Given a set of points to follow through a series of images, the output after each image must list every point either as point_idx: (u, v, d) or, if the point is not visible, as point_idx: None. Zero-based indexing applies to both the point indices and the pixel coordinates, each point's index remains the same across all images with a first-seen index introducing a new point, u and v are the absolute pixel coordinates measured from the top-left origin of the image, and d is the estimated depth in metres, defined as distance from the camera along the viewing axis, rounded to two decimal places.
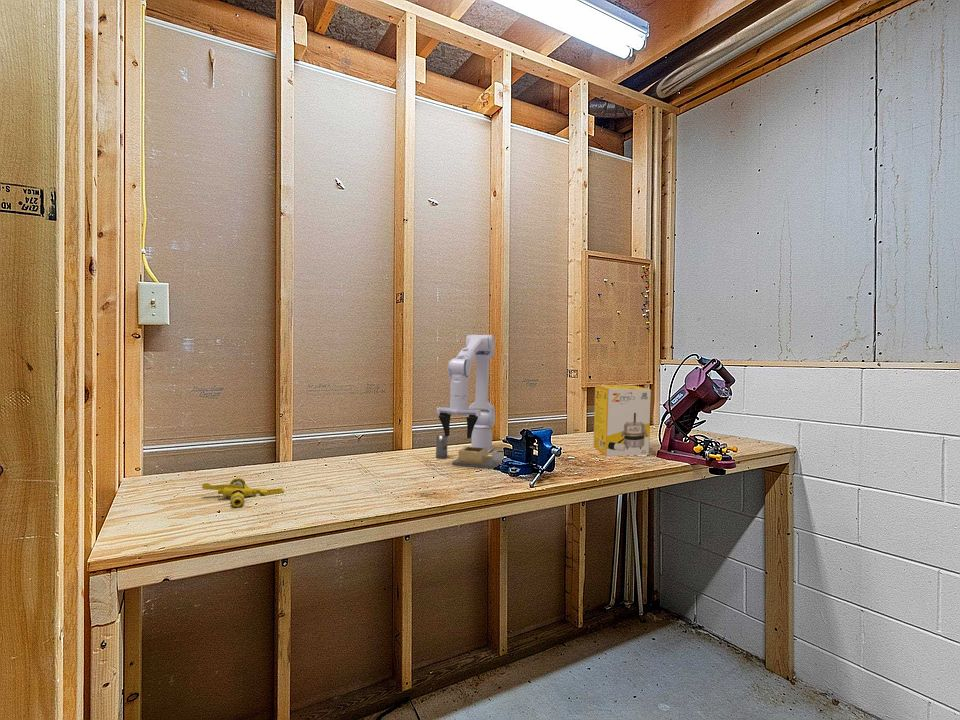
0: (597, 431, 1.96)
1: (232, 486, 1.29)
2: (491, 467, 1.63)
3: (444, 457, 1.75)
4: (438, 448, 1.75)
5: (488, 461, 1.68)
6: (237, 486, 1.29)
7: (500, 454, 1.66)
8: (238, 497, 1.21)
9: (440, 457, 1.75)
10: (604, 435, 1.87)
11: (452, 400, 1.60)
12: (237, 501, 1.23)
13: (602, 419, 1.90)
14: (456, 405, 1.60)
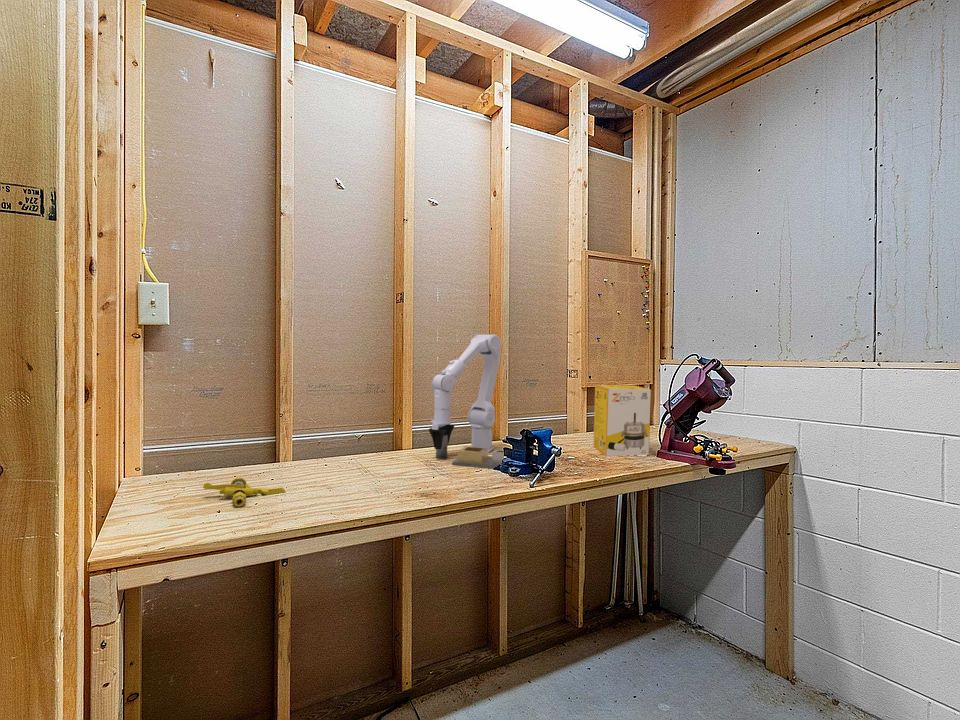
0: (597, 431, 1.96)
1: (233, 486, 1.29)
2: (491, 467, 1.63)
3: (444, 457, 1.75)
4: None
5: (488, 461, 1.68)
6: (238, 486, 1.29)
7: (500, 454, 1.66)
8: (240, 497, 1.21)
9: (440, 457, 1.75)
10: (604, 435, 1.87)
11: None
12: (239, 501, 1.23)
13: (602, 419, 1.90)
14: None
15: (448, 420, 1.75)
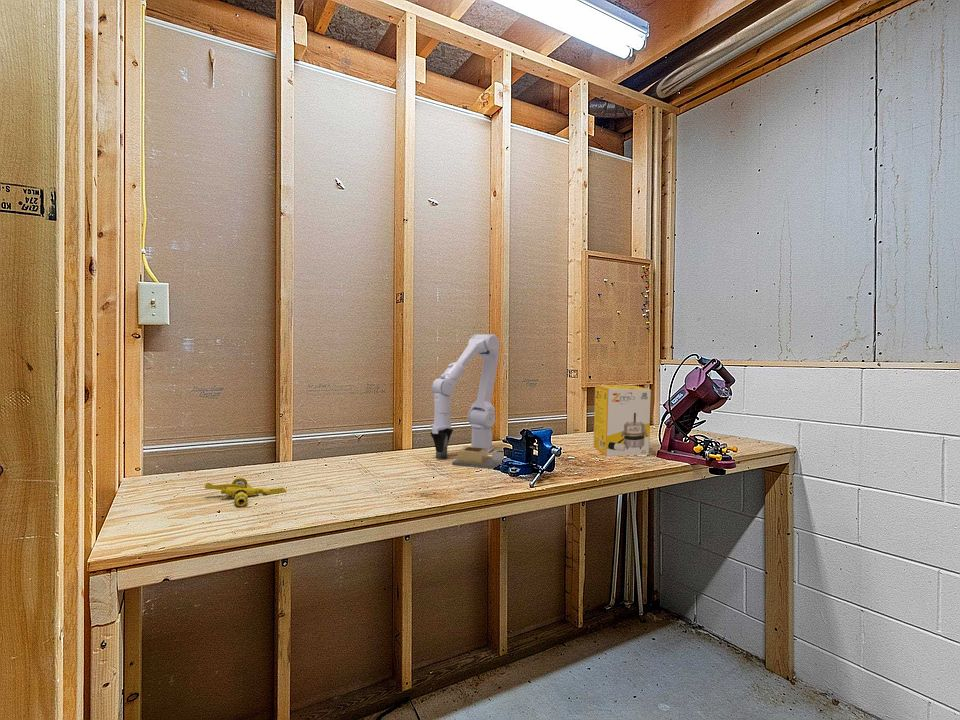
0: (597, 431, 1.96)
1: (235, 486, 1.29)
2: (491, 467, 1.63)
3: (444, 457, 1.75)
4: None
5: (488, 461, 1.68)
6: (240, 486, 1.30)
7: (500, 454, 1.66)
8: (242, 496, 1.21)
9: (440, 457, 1.75)
10: (604, 435, 1.87)
11: None
12: (241, 501, 1.23)
13: (602, 419, 1.90)
14: None
15: (448, 424, 1.75)
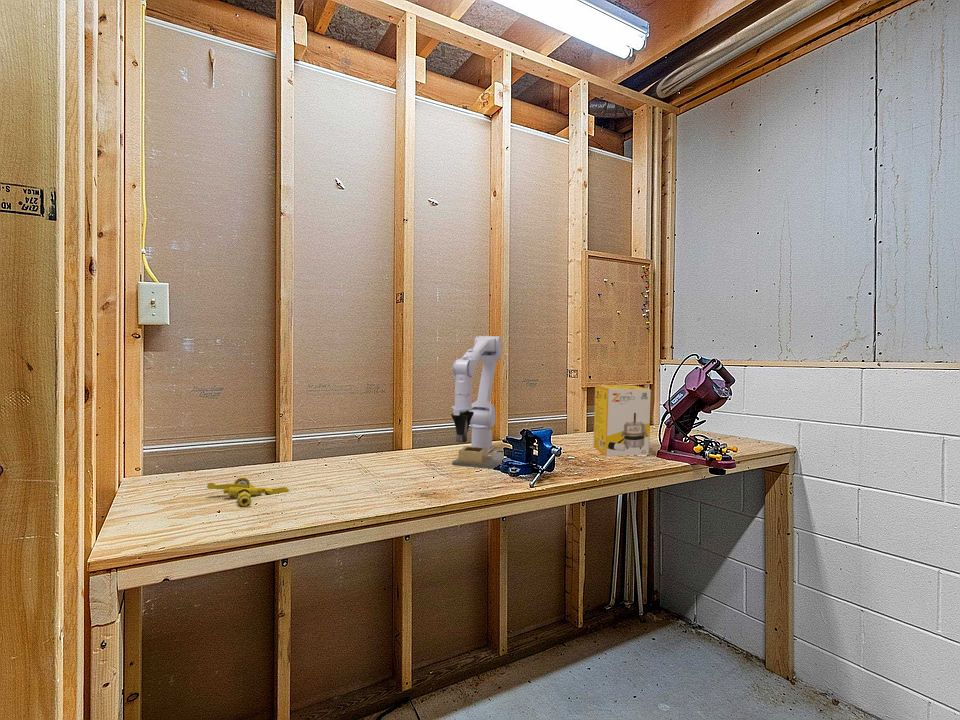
0: (597, 431, 1.96)
1: (237, 485, 1.29)
2: (491, 467, 1.63)
3: (464, 440, 1.71)
4: None
5: (488, 461, 1.68)
6: (242, 485, 1.30)
7: (500, 454, 1.66)
8: (245, 496, 1.22)
9: (460, 441, 1.71)
10: (604, 435, 1.87)
11: None
12: (244, 500, 1.24)
13: (602, 419, 1.90)
14: None
15: (469, 406, 1.71)
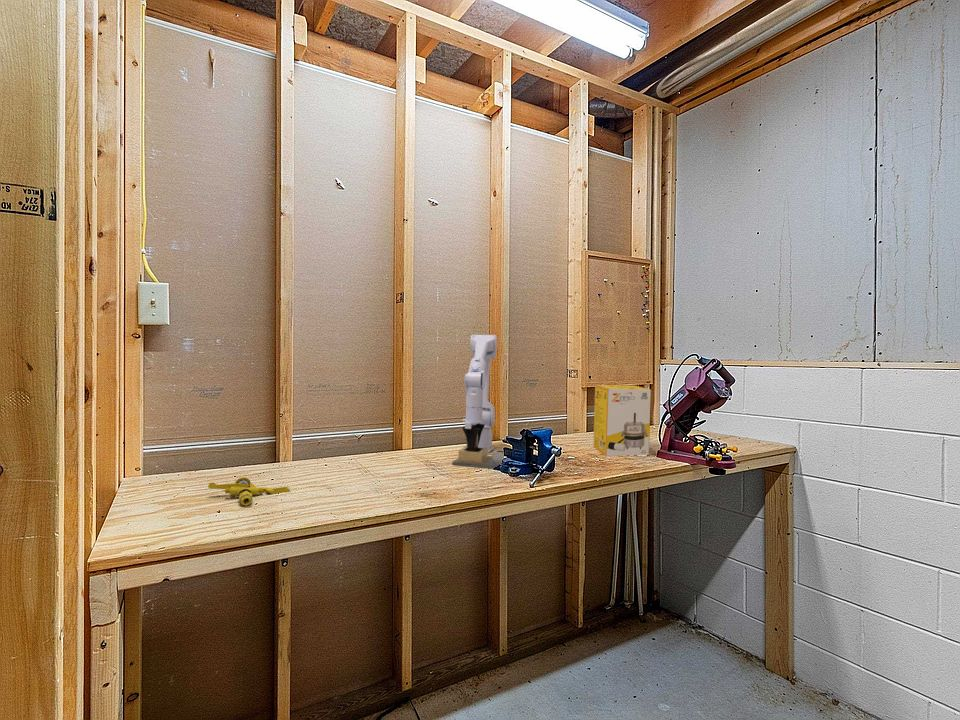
0: (597, 431, 1.96)
1: (238, 485, 1.30)
2: (491, 467, 1.63)
3: None
4: None
5: (488, 461, 1.68)
6: (243, 485, 1.30)
7: (500, 454, 1.66)
8: (247, 496, 1.22)
9: None
10: (604, 435, 1.87)
11: None
12: (245, 500, 1.24)
13: (602, 419, 1.90)
14: None
15: (480, 419, 1.69)
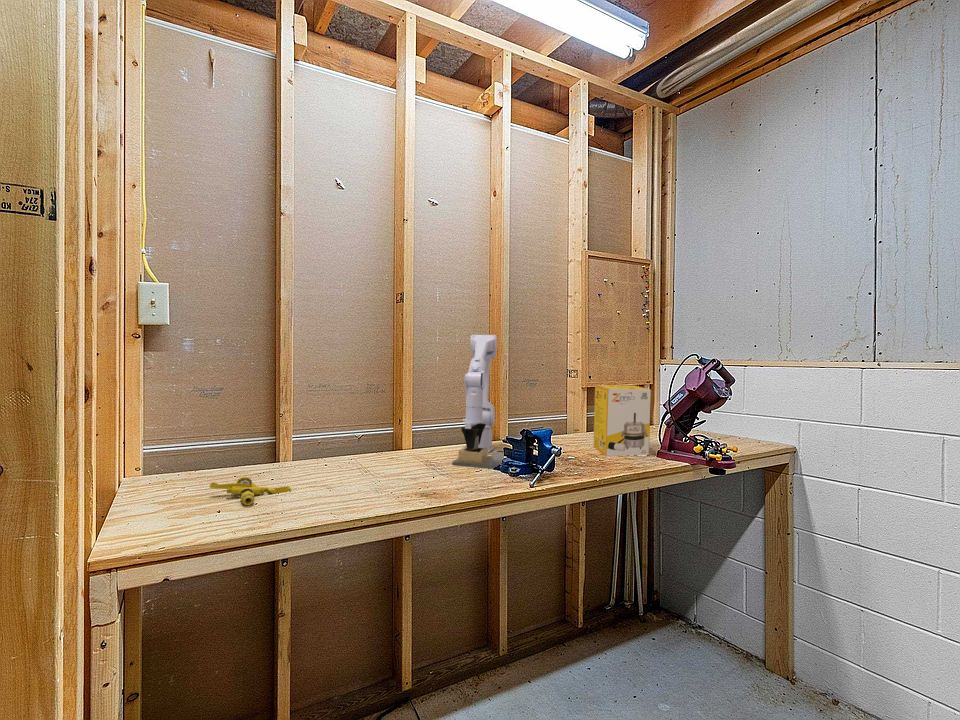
0: (597, 431, 1.96)
1: (240, 485, 1.30)
2: (491, 467, 1.63)
3: None
4: (468, 450, 1.69)
5: (488, 461, 1.68)
6: (245, 485, 1.30)
7: (500, 454, 1.66)
8: (249, 495, 1.22)
9: None
10: (604, 435, 1.87)
11: None
12: (247, 499, 1.24)
13: (602, 419, 1.90)
14: None
15: (480, 419, 1.69)
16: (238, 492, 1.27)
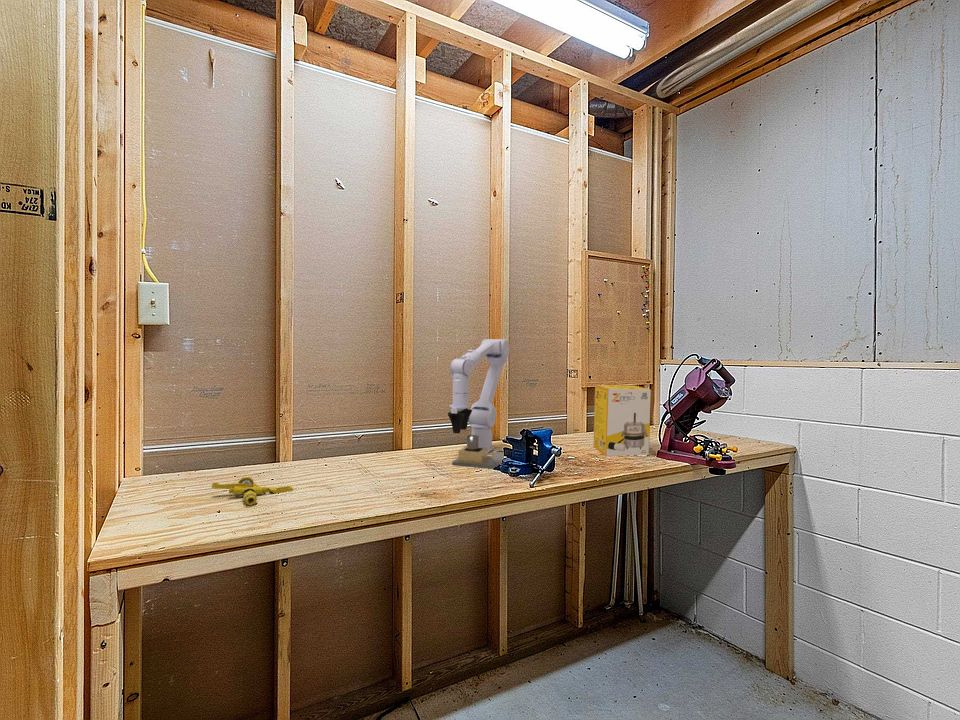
0: (597, 431, 1.96)
1: (242, 485, 1.30)
2: (491, 467, 1.63)
3: None
4: (468, 450, 1.69)
5: (488, 461, 1.68)
6: (247, 485, 1.31)
7: (500, 454, 1.66)
8: (251, 495, 1.22)
9: None
10: (604, 435, 1.87)
11: None
12: (249, 499, 1.25)
13: (602, 419, 1.90)
14: None
15: (466, 404, 1.75)
16: (240, 492, 1.28)
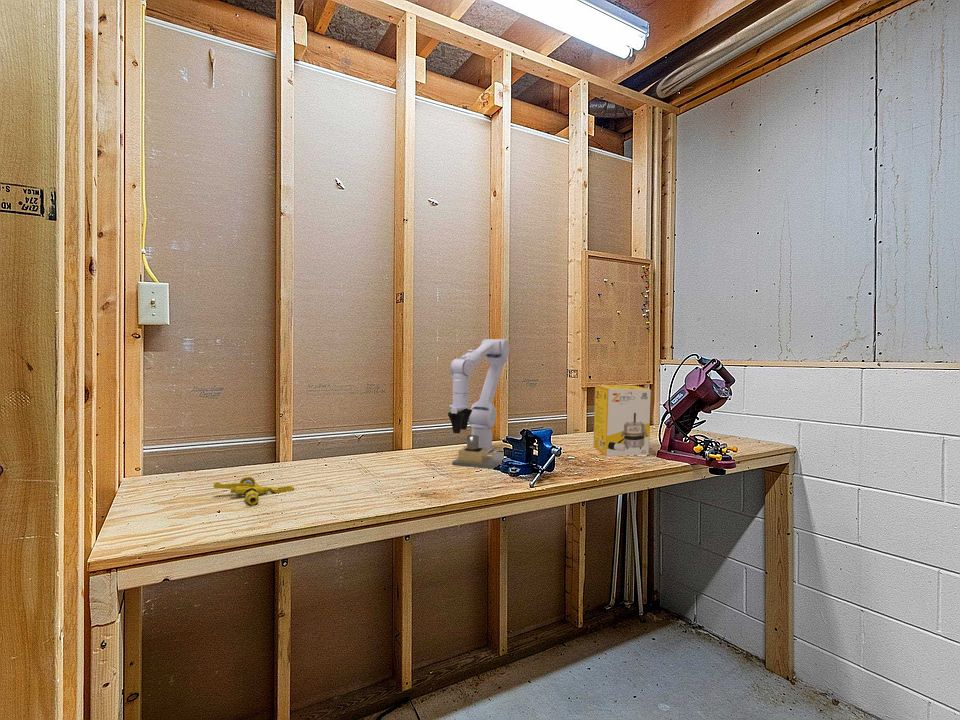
0: (597, 431, 1.96)
1: (243, 485, 1.30)
2: (491, 467, 1.63)
3: None
4: (468, 450, 1.69)
5: (488, 461, 1.68)
6: (248, 484, 1.31)
7: (500, 454, 1.66)
8: (253, 495, 1.23)
9: None
10: (604, 435, 1.87)
11: None
12: (251, 499, 1.25)
13: (602, 419, 1.90)
14: None
15: (466, 404, 1.75)
16: (242, 492, 1.28)
